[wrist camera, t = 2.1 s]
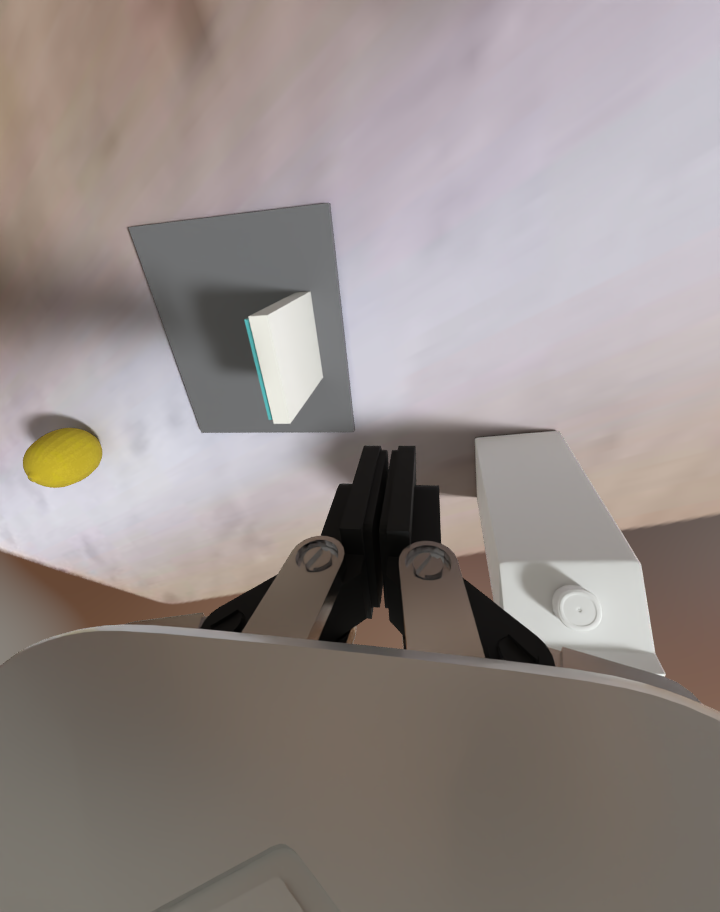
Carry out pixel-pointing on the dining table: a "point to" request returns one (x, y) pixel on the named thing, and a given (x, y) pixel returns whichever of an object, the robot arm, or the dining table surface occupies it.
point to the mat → (246, 310)
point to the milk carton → (560, 551)
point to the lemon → (62, 457)
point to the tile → (285, 354)
